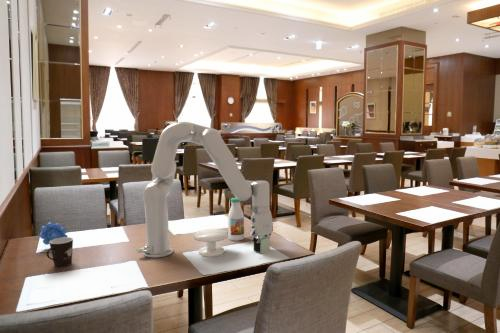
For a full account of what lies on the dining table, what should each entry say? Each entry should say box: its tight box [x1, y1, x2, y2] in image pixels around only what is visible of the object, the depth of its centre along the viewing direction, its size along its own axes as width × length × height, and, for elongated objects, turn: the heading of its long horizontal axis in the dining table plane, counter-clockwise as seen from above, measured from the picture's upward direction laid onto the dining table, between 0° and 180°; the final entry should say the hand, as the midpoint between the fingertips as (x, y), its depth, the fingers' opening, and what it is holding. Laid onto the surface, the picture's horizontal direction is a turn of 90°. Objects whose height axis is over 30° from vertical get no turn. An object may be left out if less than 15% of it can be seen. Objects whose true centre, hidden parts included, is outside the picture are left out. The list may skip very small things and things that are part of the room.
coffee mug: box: [46, 236, 74, 268], centre depth 156 cm, size 12×9×10 cm
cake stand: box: [193, 228, 229, 258], centre depth 168 cm, size 15×15×8 cm
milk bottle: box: [227, 197, 245, 242], centre depth 186 cm, size 8×8×20 cm
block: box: [252, 236, 270, 254], centre depth 169 cm, size 5×5×6 cm
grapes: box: [38, 222, 69, 246], centre depth 178 cm, size 12×7×12 cm, turn 120°
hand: (261, 249), depth 169 cm, fingers closed on block, 5 cm apart
